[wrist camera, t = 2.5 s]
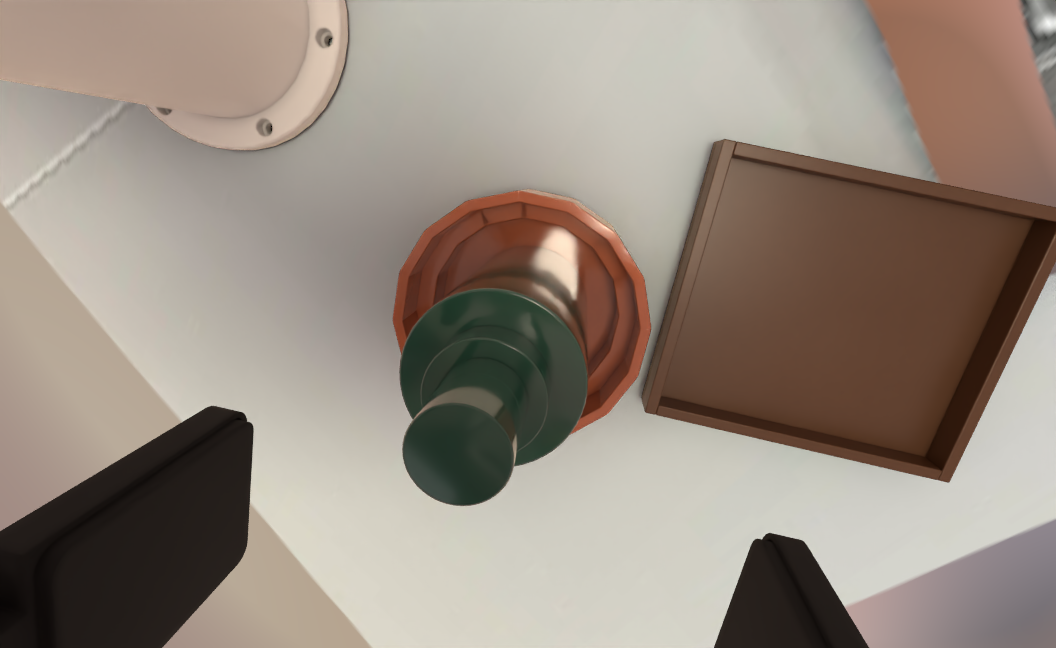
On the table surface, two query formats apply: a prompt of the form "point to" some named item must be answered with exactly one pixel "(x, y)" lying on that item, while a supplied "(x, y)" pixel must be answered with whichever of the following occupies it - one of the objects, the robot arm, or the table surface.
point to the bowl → (555, 226)
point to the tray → (846, 308)
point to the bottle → (495, 374)
